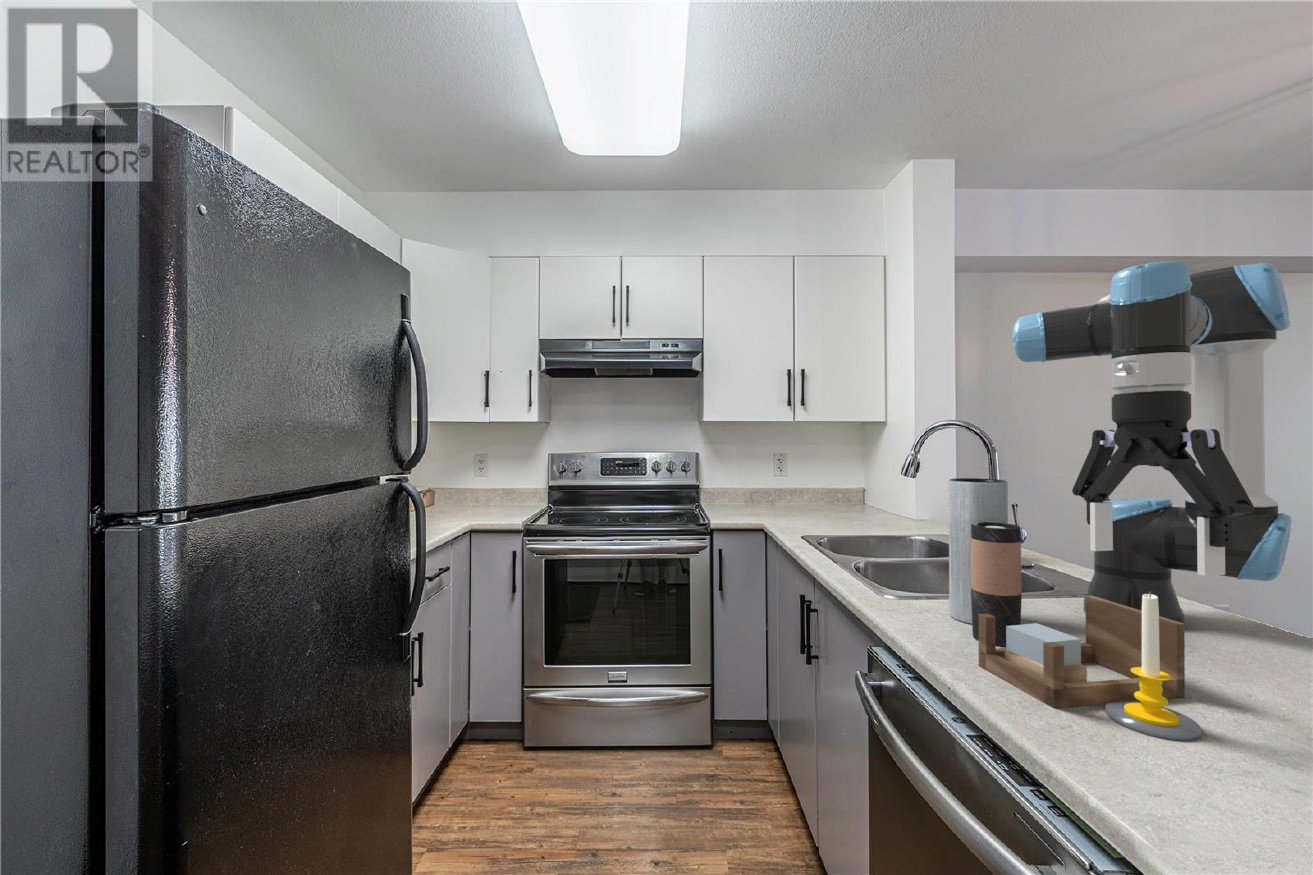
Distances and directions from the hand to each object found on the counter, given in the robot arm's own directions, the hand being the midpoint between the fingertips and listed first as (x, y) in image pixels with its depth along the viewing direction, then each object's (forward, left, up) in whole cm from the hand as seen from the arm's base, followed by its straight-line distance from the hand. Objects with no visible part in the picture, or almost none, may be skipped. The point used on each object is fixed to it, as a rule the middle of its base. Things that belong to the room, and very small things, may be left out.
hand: (1151, 561), depth 72 cm
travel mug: (-2, -29, -20) cm, 35 cm away
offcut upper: (+4, -12, -16) cm, 21 cm away
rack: (-1, -12, -20) cm, 23 cm away
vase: (-7, -40, -20) cm, 45 cm away
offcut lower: (+4, -12, -20) cm, 24 cm away
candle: (0, 0, -19) cm, 19 cm away
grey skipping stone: (0, 0, -20) cm, 20 cm away
